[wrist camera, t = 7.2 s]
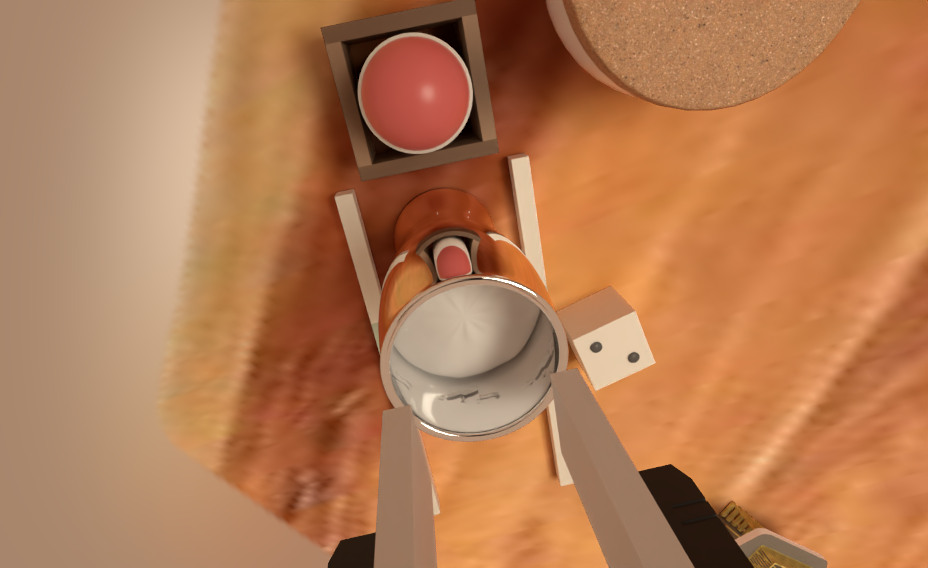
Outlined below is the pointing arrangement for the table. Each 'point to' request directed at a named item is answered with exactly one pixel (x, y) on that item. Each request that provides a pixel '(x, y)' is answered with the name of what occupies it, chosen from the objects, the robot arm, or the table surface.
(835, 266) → the table surface
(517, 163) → the track
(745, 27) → the lidded bowl
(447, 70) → the dome button
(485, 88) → the button housing
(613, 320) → the die
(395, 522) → the robot arm
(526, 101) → the table surface
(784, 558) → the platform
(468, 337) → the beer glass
